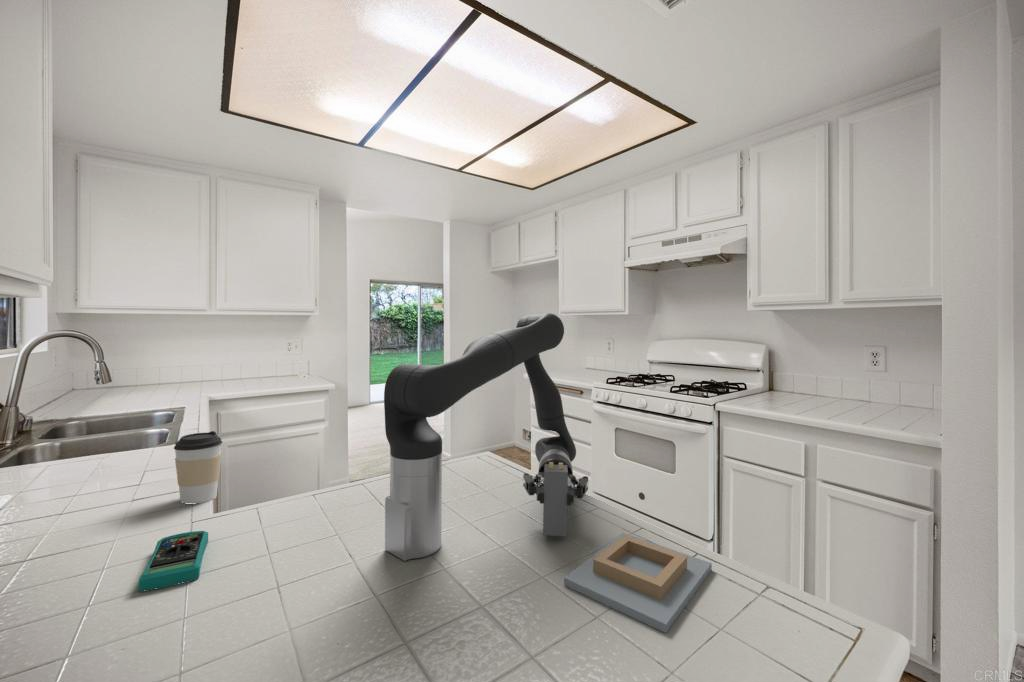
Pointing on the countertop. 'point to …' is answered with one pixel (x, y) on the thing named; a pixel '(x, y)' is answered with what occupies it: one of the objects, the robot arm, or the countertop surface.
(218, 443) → the coffee cup
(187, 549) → the digital multimeter
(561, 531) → the connector
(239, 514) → the countertop surface
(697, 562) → the holder
